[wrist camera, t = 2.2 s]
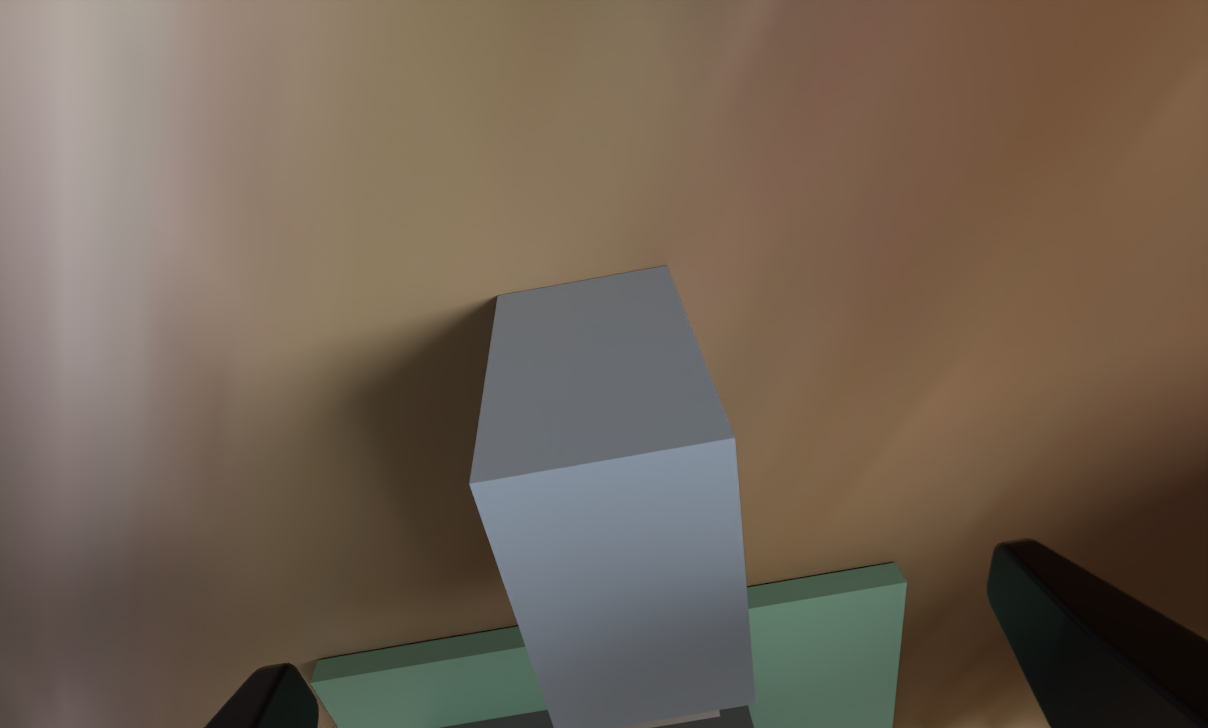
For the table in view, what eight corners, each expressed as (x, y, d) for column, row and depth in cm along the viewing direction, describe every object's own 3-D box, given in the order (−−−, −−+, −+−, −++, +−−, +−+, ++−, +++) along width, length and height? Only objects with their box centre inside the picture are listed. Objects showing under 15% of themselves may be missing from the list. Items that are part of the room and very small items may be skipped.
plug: (666, 265, 12) (735, 438, 8) (698, 516, 15) (758, 741, 11) (497, 295, 12) (468, 483, 8) (563, 539, 15) (568, 772, 11)
